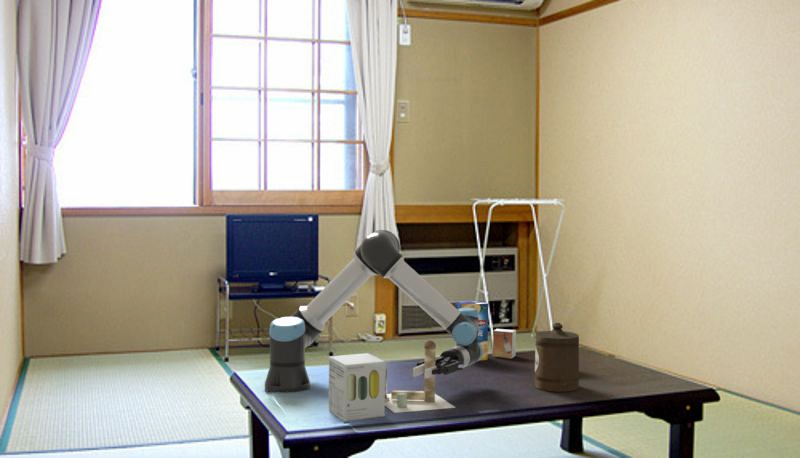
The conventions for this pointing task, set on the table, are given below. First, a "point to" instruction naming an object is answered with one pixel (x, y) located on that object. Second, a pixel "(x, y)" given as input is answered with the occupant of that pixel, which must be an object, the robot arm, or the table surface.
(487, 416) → the table surface
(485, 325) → the blue tall rectangular box
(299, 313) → the robot arm
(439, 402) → the board
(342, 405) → the supplement box
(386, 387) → the hinge post
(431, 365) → the gate
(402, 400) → the post
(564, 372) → the wooden container
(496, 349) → the small box
